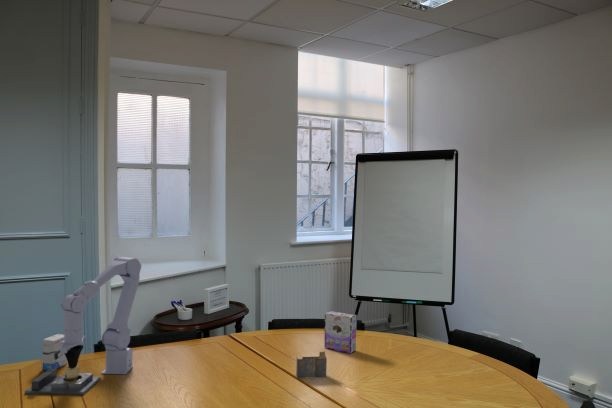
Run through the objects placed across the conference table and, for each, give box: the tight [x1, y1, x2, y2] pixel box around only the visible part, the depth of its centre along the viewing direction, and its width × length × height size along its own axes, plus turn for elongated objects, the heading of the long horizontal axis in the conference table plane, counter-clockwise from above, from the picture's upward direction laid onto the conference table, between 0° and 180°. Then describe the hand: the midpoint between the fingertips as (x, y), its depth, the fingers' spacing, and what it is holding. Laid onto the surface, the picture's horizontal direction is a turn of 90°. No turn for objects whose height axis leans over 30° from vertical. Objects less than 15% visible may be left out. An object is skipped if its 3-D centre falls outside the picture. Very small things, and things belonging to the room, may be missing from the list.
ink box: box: [41, 333, 68, 371], centre depth 190 cm, size 8×5×12 cm, turn 168°
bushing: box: [64, 364, 80, 381], centre depth 171 cm, size 4×4×6 cm
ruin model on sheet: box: [295, 350, 328, 379], centre depth 186 cm, size 11×3×10 cm, turn 98°
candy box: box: [323, 310, 358, 354], centre depth 218 cm, size 14×6×16 cm, turn 58°
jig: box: [24, 368, 101, 396], centre depth 171 cm, size 20×14×4 cm
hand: (72, 367), depth 171 cm, fingers closed, pressing on bushing
